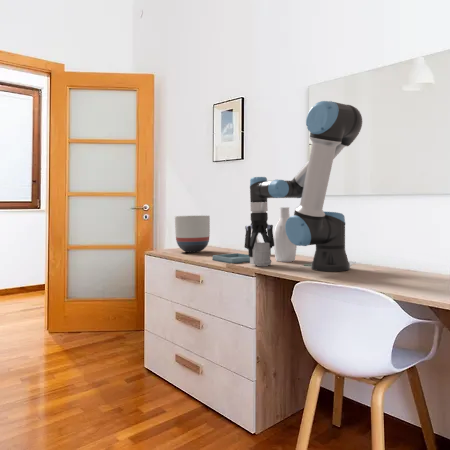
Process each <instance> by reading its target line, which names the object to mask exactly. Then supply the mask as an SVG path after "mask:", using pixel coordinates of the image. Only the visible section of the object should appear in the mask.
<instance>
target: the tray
mask: <svg viewBox="0 0 450 450" xmlns="http://www.w3.org/2000/svg"><path fill="white" fill-rule="evenodd" d="M212 261H216V262H219V263H226V264H230V263H237V264H243V263H242V262H246V263H250V257H249V254H245V253H239V252H238V253H237V252H236V253H226V254H224V253H223V254H215V255H214V254H213V255H212Z"/></svg>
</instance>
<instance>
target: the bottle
mask: <svg viewBox="0 0 450 450" xmlns="http://www.w3.org/2000/svg"><path fill="white" fill-rule="evenodd" d="M290 217H291V216H290V207H288V206H287V207H284V206H283V207H279V219H278V221H277V222H276V224H275V228H274V231H273V238H274V246H273V251H274V252H273V253H274V257H275V261H276V262H278V261H281V262H280V263H290V262H291V263H293V262H295V260H296V256H297V255H296V254H297V248H298V247H297V245H294V244H293V243H292V242H291V241H290V240H289V239H288V236H287V235H286V230H285V225H286V221H287V220H288V219H289V218H290ZM292 261H293V262H292Z"/></svg>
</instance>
